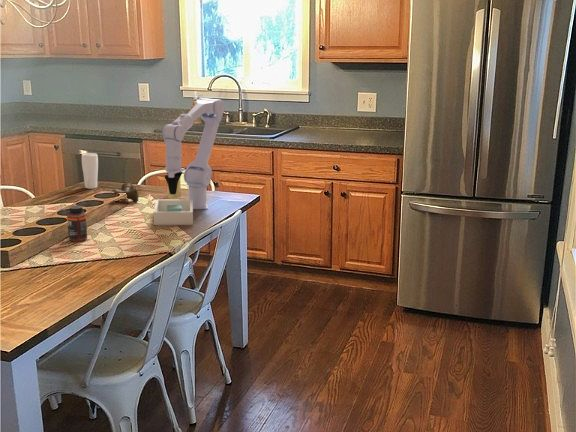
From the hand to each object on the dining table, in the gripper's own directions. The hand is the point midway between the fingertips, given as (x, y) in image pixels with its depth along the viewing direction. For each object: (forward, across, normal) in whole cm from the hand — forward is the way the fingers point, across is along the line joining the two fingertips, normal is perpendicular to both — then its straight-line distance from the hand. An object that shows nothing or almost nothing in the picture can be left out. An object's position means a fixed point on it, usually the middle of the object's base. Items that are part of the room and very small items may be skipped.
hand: (173, 192), depth 236 cm
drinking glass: (+10, +41, +41) cm, 59 cm away
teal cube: (+9, -7, -1) cm, 11 cm away
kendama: (+10, +23, +22) cm, 34 cm away
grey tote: (+9, -4, 0) cm, 10 cm away
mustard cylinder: (+2, 0, 0) cm, 2 cm away
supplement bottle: (+10, -30, +28) cm, 43 cm away
